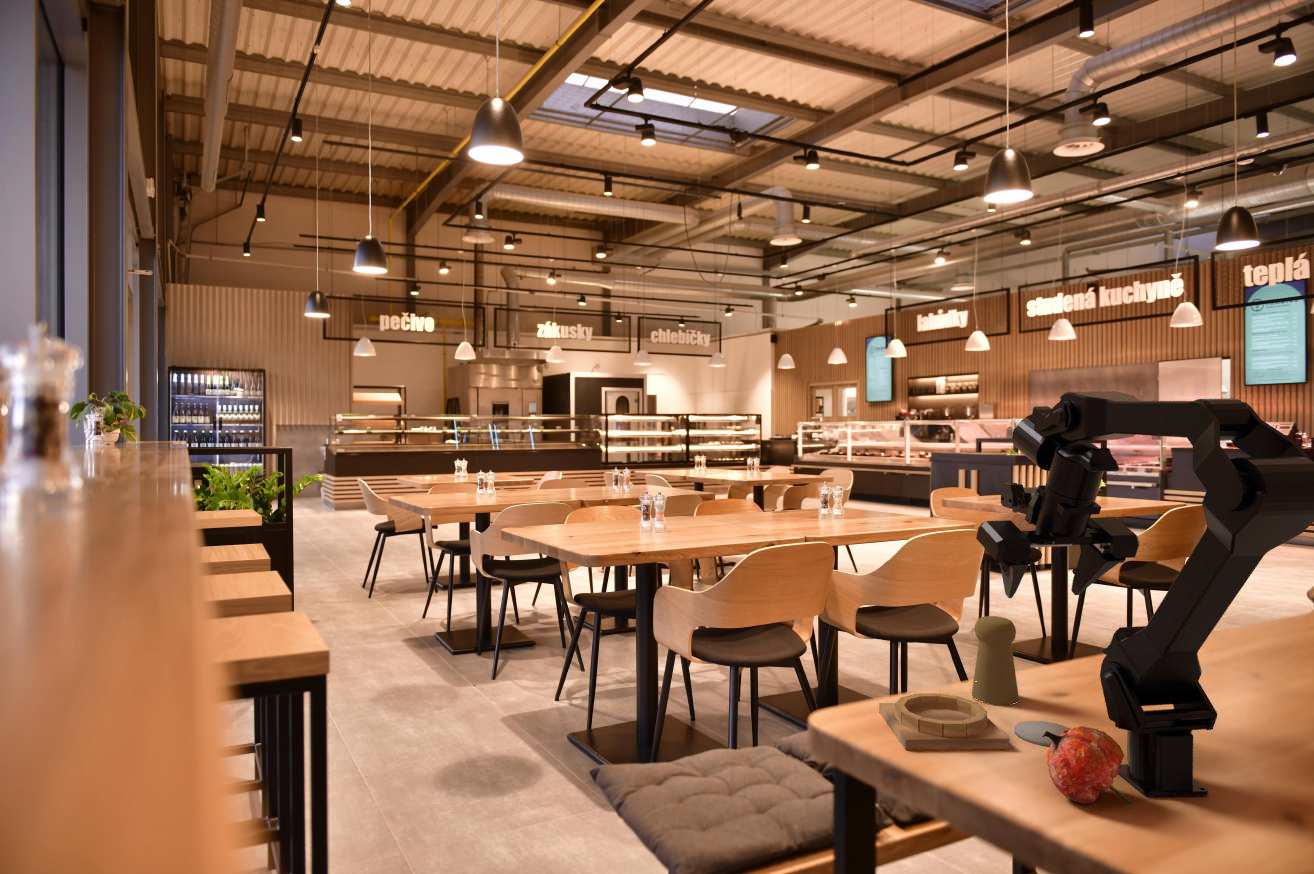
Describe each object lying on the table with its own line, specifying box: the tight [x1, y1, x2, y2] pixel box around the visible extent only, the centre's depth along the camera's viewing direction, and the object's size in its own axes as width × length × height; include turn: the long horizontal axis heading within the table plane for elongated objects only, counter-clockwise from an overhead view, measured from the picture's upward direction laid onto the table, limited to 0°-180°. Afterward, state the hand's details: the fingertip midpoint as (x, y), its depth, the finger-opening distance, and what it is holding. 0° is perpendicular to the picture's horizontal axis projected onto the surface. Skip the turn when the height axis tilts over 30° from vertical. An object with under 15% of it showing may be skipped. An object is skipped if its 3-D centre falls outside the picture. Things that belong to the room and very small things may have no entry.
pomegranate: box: [1042, 725, 1133, 805], centre depth 85 cm, size 7×7×10 cm
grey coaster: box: [1013, 720, 1071, 747], centre depth 101 cm, size 7×7×1 cm
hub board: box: [878, 692, 1010, 751], centre depth 103 cm, size 12×12×3 cm
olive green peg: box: [971, 615, 1020, 706], centre depth 114 cm, size 6×6×11 cm
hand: (1041, 594), depth 108 cm, fingers open, 9 cm apart
